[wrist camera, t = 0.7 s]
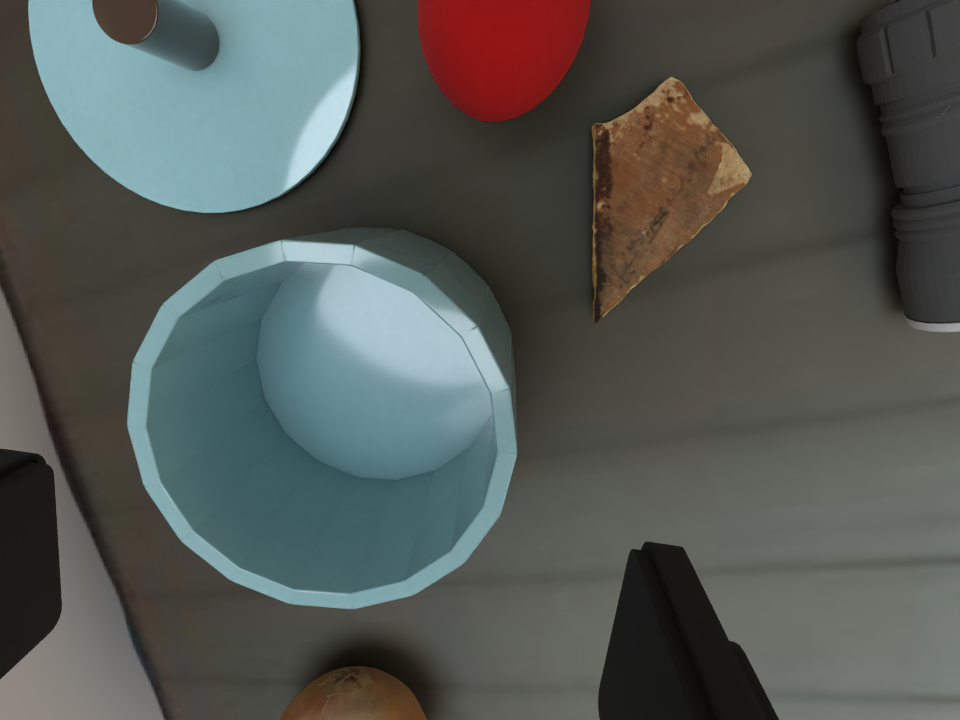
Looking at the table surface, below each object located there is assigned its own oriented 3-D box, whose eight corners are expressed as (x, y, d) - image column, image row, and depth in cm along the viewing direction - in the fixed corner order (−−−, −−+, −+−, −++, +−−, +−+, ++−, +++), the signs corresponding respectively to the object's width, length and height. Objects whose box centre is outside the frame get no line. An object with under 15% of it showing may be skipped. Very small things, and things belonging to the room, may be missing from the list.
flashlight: (825, 27, 30) (892, -10, 25) (940, -15, 29) (1034, -63, 24) (884, 319, 33) (952, 341, 28) (988, 287, 33) (1078, 303, 27)
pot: (434, 174, 33) (394, 161, 21) (559, 425, 36) (580, 526, 25) (196, 302, 35) (49, 350, 24) (333, 525, 38) (260, 659, 27)
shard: (591, 319, 34) (595, 325, 32) (498, 218, 33) (497, 218, 31) (749, 178, 32) (763, 177, 30) (654, 65, 31) (663, 57, 29)
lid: (252, -220, 28) (177, -342, 22) (421, 121, 32) (398, 102, 26) (-21, -32, 31) (-158, -92, 25) (161, 264, 35) (82, 279, 28)
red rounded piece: (555, 149, 32) (574, 127, 22) (423, 125, 32) (385, 93, 22) (593, -51, 29) (633, -172, 20) (451, -76, 30) (422, -210, 20)
